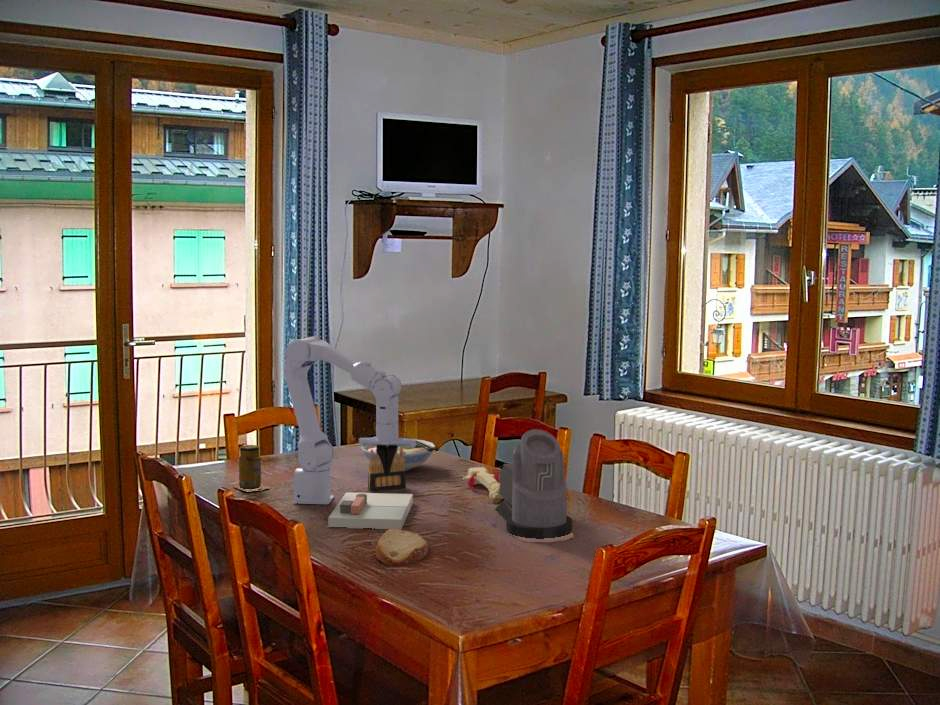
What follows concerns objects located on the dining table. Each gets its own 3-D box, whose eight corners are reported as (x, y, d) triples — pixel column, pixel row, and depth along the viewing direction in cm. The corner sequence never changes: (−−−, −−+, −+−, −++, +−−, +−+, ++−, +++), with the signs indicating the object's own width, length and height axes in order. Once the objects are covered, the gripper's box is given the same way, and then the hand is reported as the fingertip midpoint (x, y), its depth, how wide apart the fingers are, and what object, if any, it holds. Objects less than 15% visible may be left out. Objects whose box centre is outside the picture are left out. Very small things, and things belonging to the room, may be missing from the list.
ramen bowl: (349, 464, 314) (349, 438, 313) (417, 457, 323) (417, 432, 322) (376, 482, 291) (376, 454, 290) (448, 475, 301) (448, 448, 300)
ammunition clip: (369, 492, 280) (369, 449, 279) (367, 490, 282) (367, 448, 281) (405, 488, 285) (405, 446, 283) (403, 486, 286) (403, 445, 285)
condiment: (255, 484, 288) (255, 443, 287) (270, 490, 282) (269, 448, 280) (232, 488, 284) (231, 446, 282) (246, 494, 277) (245, 451, 276)
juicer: (583, 540, 238) (585, 439, 235) (518, 545, 234) (520, 442, 231) (544, 507, 267) (545, 416, 264) (486, 510, 263) (487, 418, 260)
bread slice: (398, 535, 242) (398, 520, 241) (453, 551, 230) (453, 535, 229) (341, 552, 229) (341, 536, 228) (396, 570, 217) (396, 553, 216)
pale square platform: (328, 527, 246) (328, 508, 246) (346, 501, 270) (346, 484, 269) (401, 529, 245) (401, 510, 245) (412, 503, 269) (412, 486, 268)
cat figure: (519, 506, 272) (489, 477, 295) (521, 475, 271) (490, 449, 294) (484, 509, 269) (457, 479, 292) (486, 478, 267) (458, 451, 291)
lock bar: (357, 501, 260) (357, 493, 260) (367, 501, 260) (367, 493, 260) (349, 513, 249) (349, 505, 248) (360, 513, 248) (360, 505, 248)
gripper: (356, 424, 257) (357, 476, 259) (413, 425, 256) (413, 478, 258) (361, 419, 264) (361, 470, 266) (416, 420, 263) (416, 471, 265)
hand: (387, 473), depth 262 cm, fingers closed
